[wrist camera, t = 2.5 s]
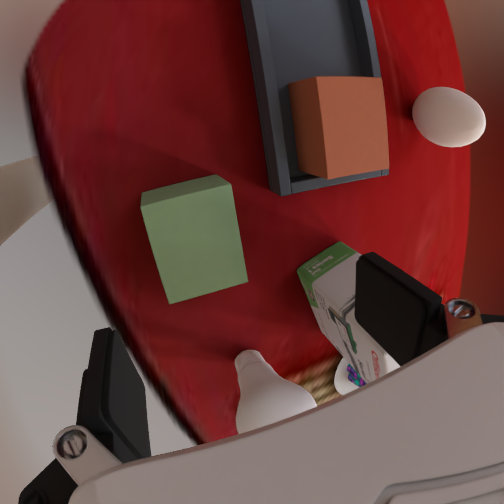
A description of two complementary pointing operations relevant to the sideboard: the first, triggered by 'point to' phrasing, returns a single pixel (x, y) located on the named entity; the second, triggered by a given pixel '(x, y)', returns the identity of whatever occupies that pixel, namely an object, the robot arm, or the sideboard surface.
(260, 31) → the holder
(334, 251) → the ink box
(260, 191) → the sideboard surface
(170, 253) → the green block
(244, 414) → the lightbulb
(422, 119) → the egg
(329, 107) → the orange block
